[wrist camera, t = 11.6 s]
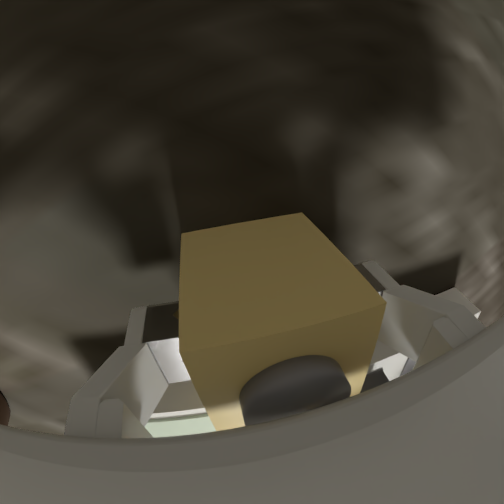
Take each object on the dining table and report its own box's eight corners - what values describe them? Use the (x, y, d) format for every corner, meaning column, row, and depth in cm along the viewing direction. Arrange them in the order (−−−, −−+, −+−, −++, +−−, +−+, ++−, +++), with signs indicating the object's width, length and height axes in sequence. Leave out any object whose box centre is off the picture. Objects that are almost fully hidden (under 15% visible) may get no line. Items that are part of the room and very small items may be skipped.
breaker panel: (454, 287, 13) (482, 312, 11) (416, 377, 18) (432, 400, 16) (94, 372, 11) (86, 418, 9) (157, 445, 15) (159, 477, 13)
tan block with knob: (301, 212, 9) (403, 321, 5) (302, 304, 11) (363, 419, 7) (181, 233, 9) (180, 378, 4) (205, 325, 11) (224, 457, 6)
